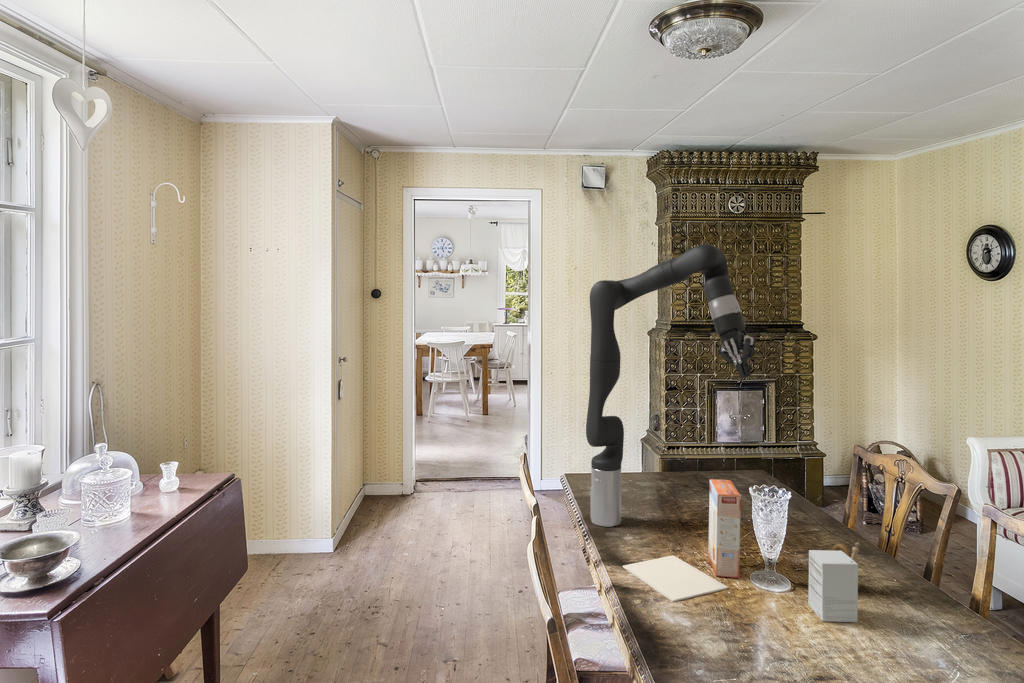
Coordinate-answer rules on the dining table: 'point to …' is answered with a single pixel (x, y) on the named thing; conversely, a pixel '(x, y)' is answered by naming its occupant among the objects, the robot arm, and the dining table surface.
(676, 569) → the cream placemat
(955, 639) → the dining table surface
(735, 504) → the cracker box
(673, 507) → the dining table surface
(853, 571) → the supplement box
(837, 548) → the snail figurine
